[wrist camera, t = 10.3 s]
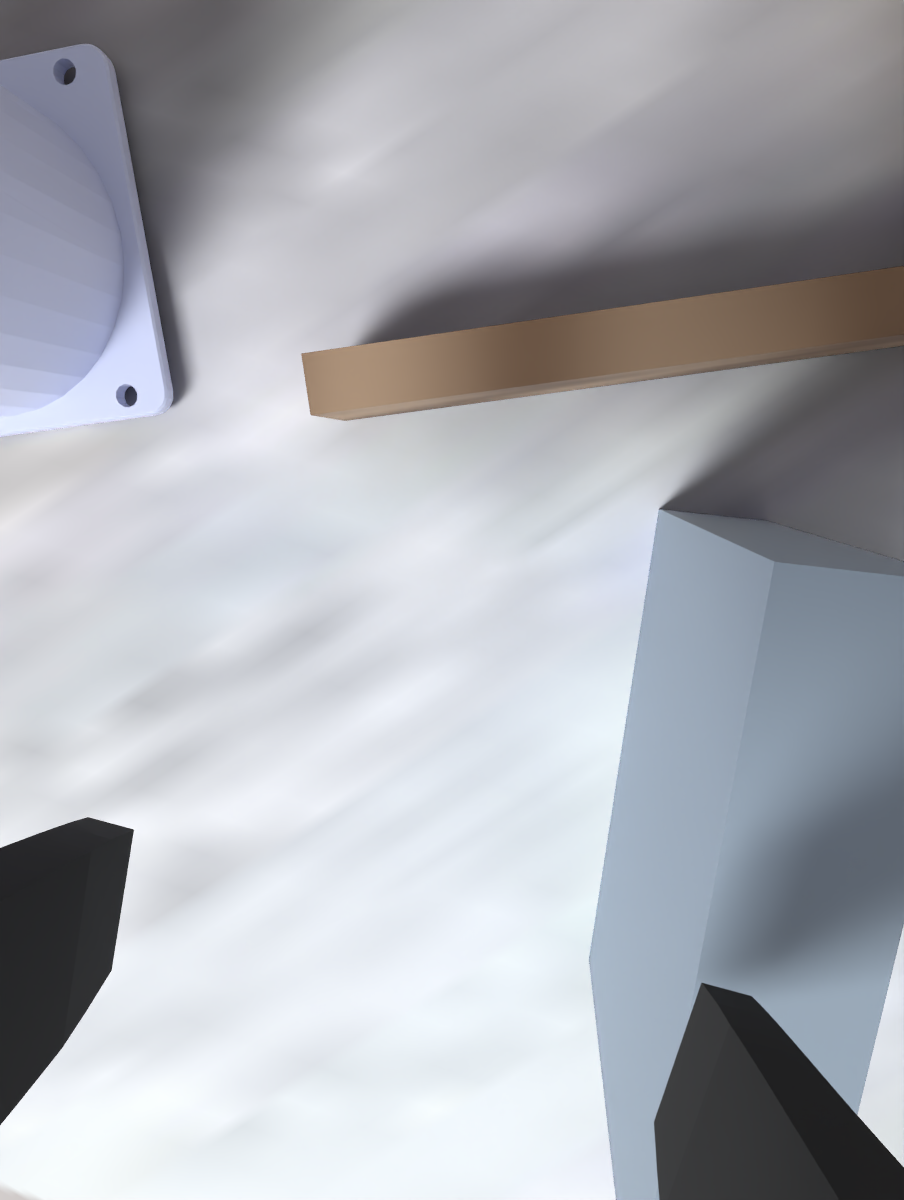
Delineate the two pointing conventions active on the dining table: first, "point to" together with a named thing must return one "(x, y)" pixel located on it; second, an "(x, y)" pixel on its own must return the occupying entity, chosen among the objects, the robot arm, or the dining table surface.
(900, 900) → the blue grey rectangular slab
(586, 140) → the dining table surface
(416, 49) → the dining table surface
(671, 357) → the rack
